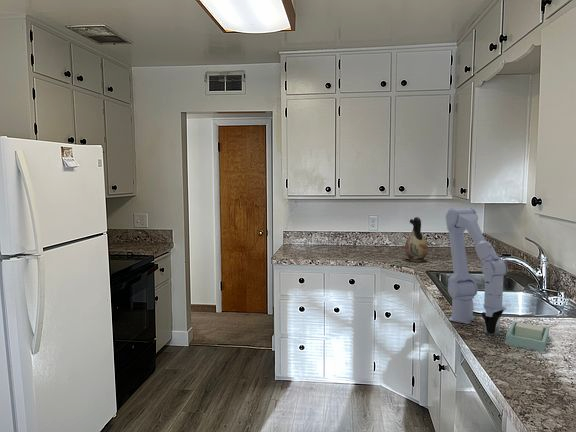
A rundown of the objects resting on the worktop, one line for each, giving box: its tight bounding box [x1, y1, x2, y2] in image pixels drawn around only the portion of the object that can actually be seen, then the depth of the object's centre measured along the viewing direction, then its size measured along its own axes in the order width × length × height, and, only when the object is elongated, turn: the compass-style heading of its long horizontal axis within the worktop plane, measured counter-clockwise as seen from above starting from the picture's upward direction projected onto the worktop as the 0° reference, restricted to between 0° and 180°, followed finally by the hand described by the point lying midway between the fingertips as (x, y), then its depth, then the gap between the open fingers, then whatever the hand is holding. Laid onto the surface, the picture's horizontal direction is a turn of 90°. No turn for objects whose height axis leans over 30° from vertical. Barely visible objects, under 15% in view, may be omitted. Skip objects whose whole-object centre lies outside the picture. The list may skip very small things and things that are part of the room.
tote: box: [504, 320, 550, 352], centre depth 142 cm, size 16×11×4 cm
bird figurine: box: [404, 216, 429, 263], centre depth 281 cm, size 17×15×30 cm
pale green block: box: [515, 321, 545, 341], centre depth 145 cm, size 5×8×4 cm, turn 54°
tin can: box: [484, 317, 501, 336], centre depth 148 cm, size 5×5×7 cm
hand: (492, 331), depth 148 cm, fingers closed on tin can, 5 cm apart
